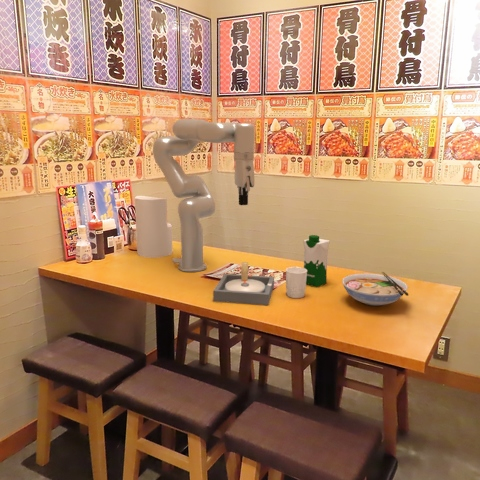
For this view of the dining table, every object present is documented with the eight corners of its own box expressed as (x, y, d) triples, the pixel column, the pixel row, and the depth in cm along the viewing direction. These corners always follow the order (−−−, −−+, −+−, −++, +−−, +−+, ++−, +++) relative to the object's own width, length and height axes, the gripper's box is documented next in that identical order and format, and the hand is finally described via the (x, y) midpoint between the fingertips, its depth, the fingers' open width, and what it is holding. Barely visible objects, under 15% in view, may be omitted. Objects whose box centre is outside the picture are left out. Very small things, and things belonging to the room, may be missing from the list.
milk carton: (299, 283, 185) (301, 235, 180) (312, 278, 191) (314, 231, 187) (317, 288, 179) (320, 239, 174) (330, 283, 186) (332, 235, 181)
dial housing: (213, 301, 165) (213, 290, 164) (224, 283, 184) (224, 273, 183) (268, 305, 162) (268, 294, 161) (273, 286, 181) (274, 276, 180)
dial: (266, 297, 166) (266, 273, 164) (225, 297, 165) (225, 273, 163) (263, 283, 180) (263, 261, 178) (225, 283, 180) (225, 261, 178)
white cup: (292, 300, 167) (293, 274, 165) (281, 293, 174) (281, 268, 171) (310, 296, 170) (311, 271, 168) (298, 290, 177) (299, 265, 175)
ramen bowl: (335, 289, 178) (336, 269, 176) (394, 290, 178) (396, 270, 176) (347, 315, 154) (349, 292, 152) (416, 317, 153) (418, 294, 151)
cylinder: (155, 259, 216) (153, 201, 209) (129, 253, 225) (127, 197, 218) (179, 251, 230) (178, 196, 223) (154, 246, 239) (152, 193, 232)
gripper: (260, 158, 167) (259, 207, 172) (246, 155, 181) (245, 201, 185) (241, 158, 165) (240, 208, 169) (228, 155, 178) (227, 202, 183)
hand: (243, 204), depth 177 cm, fingers closed
